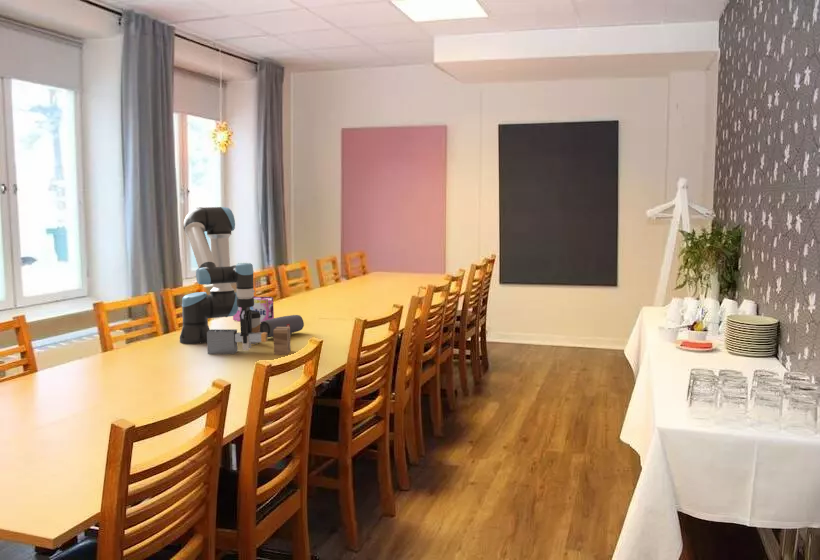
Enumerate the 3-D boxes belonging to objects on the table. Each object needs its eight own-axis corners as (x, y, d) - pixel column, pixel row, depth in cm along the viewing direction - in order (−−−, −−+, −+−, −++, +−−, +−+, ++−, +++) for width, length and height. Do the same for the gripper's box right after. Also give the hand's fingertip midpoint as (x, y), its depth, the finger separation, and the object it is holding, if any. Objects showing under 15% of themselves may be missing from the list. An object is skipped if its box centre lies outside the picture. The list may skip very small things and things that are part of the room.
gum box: (276, 321, 407) (275, 297, 405) (268, 323, 399) (268, 299, 398) (240, 318, 416) (240, 295, 414) (232, 320, 408) (231, 297, 407)
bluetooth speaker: (271, 341, 351) (270, 321, 350) (258, 339, 357) (257, 319, 356) (305, 334, 369) (304, 314, 368) (292, 332, 375) (291, 312, 374)
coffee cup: (257, 345, 341) (256, 314, 340) (240, 344, 343) (239, 313, 341) (264, 342, 349) (263, 311, 348) (248, 341, 351) (247, 310, 349)
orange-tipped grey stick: (212, 340, 328) (212, 332, 327) (267, 340, 327) (267, 332, 327) (210, 342, 324) (209, 334, 324) (265, 342, 324) (265, 333, 323)
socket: (277, 350, 330) (276, 326, 329) (290, 350, 330) (290, 326, 329) (274, 354, 322) (273, 330, 321) (287, 354, 322) (286, 330, 321)
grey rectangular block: (211, 351, 329) (210, 329, 328) (237, 351, 329) (236, 329, 328) (207, 354, 323) (206, 332, 322) (234, 354, 323) (233, 332, 322)
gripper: (249, 300, 315) (251, 353, 318) (257, 295, 332) (259, 345, 334) (232, 300, 315) (234, 353, 318) (241, 295, 332) (243, 345, 334)
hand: (246, 349), depth 326 cm, fingers closed on orange-tipped grey stick, 4 cm apart
